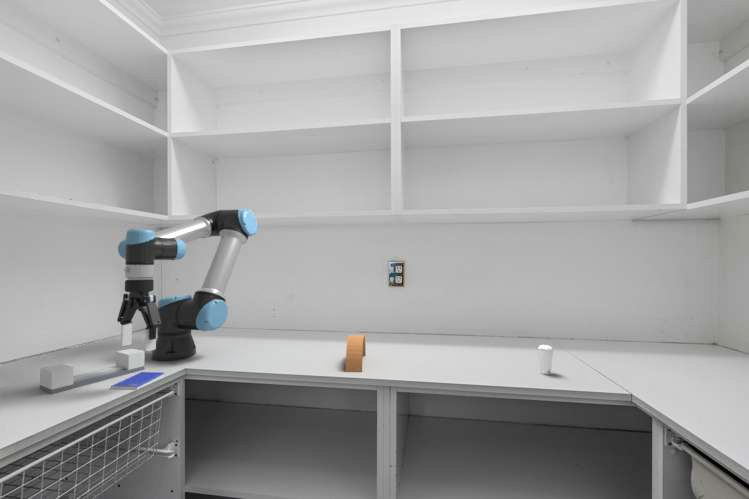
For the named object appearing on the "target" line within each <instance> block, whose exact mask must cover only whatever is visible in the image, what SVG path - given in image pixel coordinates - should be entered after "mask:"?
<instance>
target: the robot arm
mask: <svg viewBox="0 0 749 499" xmlns="http://www.w3.org/2000/svg"><path fill="white" fill-rule="evenodd" d="M252 215H255V213H254V212H253V211H252V210H250V209H249V208H247V209H246V208H239V209H218V210H214V211H212V212H208V213H205V214H203V215H200V216H196V217H194V219H193V220H192V221H191V220H190V221H188V222H185V223H182V224H177V225H175V226H172V227H168V228H165V229H162V230H159V231H156V232H155V230H153V229H144V228H143V229H141V228H131V229H129V230H127V231H126V236H125V238H124V239H122V240H121V241H120V242H119V243H118V246H117V252H118V254H119V256H120V257H121V258H122V259H125V260H124V261H125V263H124V264H125V268H124V270H123V271H124V273H125V275H124V277H125V279H126V280H124V292H126V293H123V295H122V302H121V306H120V310H119V312H118V316H117V320H116V321H117V323H120V325H121V330H120V331H121V334H120V335H121V336H120V337H121V338H120V346H121V347H124V346H129V345H132V341H133V340H132V337H133V336H132V335H133V321H132V320H133V318H134V317H135V314H136V312H137V310H138V312H140V313H141V316H142V318H143V320H144V322H145V325H146V327H145V328H144V329H145V333H144V334H145V338H144V339H145V340H144V344H145V345H144V351H145V352H150V351H151V359H152V360H154V361H175V360H180V359H186V358H190V357H192V356H195V355H196V353H197V346H196V344H195V341H194V338H193V335H192V330H193V331H201V332H208V331H209V332H210V331H211V332H212V331H216V330H218V329H219V328H221V327H222V326H223V325H224V324H225V322H226V320H227V319H228V315H229V307H228V305H227V303H226V301H227V299H226V297H225V296H224V295H225V291H226V288H227V286H228V284H229V281H230V278H231V276H232V273H233V270H234V267H235V264H236V262H237V259H238V256H239V253H240V251H241V249H242V246H243V245H245V244H246V243H247V242H248V239H249V237H252V236H255V234H256V233H257V231H258V221H257V217H256V218H254V217H252ZM211 237H221V238H220V241H219V243H218V246H217V247H216V248H217V249H216V251H215V253H214V256H213V258H212V261H211V263H210V265H209V268H208V270H207V272H206V276H205V278H204V281H203V283H202V286H201V288H200V289H198V290H196V291H195V292H194V294H193V297H192V295H191V294H187V295H178V296H172V297H171V296H170V297H164V298H160V299H159V300H158V301H157V296H156V295H155V294H150V292H152V291H154V289H155V288H154V286H155V284H154V283H155V282H154V277H155V261H177V260H178V261H179V260H181V259H183V258H184V257H185V255H186V254H187V245H186V244H187V243H190V242H193V241H195V240H197V239H207V238H211Z"/></svg>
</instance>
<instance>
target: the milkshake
mask: <svg viewBox="0 0 749 499" xmlns="http://www.w3.org/2000/svg"><path fill="white" fill-rule="evenodd" d="M554 346H555V344H553V345H552V346H551V345H550V344H549V345H548V344H541V345H539V346H538V347H537V351H538V352H537V353H538V361H539V373H540V374H543V375H547V376H549V375H552V369H553V356H554Z"/></svg>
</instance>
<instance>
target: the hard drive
mask: <svg viewBox="0 0 749 499" xmlns="http://www.w3.org/2000/svg"><path fill="white" fill-rule="evenodd" d="M164 376H165V372H163V371H162V372H158V371H157V372H155V371H154V372H153V371H152V372H151V371H140V372H138V373H137V374H134V375H132V376H130V377H128V378H126V379H124V380H123V379H122V380H121V381H119V382H116V383H114V384H112V385H111V386H110V390H140V389H141V388H143V387H145V386H147V385H149V384H151V383H153V382H155V381H156V380H158V379H160V378H162V377H164Z"/></svg>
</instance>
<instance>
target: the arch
mask: <svg viewBox="0 0 749 499" xmlns="http://www.w3.org/2000/svg"><path fill="white" fill-rule="evenodd" d="M365 336H366V335H365V334H349V335H348V337H347V340H346V341H347V342H346V351H345V372H347V373H348V372H349V373H351V372H354V373H355V372H357V373H358V372H359V373H361V372H363V358H364V357H366V356H367V355H366V353H367V352H366V346H367V345H366V337H365Z"/></svg>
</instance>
